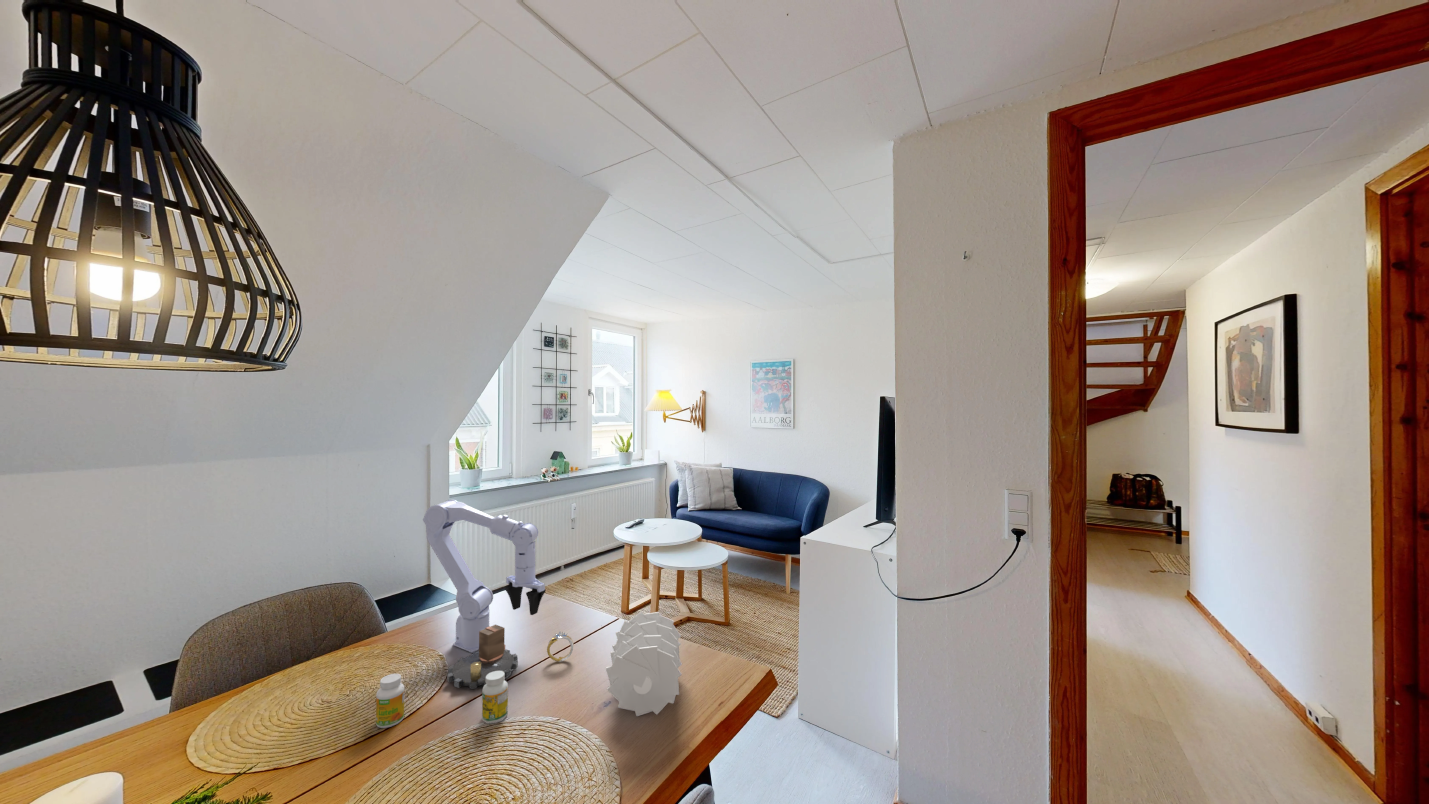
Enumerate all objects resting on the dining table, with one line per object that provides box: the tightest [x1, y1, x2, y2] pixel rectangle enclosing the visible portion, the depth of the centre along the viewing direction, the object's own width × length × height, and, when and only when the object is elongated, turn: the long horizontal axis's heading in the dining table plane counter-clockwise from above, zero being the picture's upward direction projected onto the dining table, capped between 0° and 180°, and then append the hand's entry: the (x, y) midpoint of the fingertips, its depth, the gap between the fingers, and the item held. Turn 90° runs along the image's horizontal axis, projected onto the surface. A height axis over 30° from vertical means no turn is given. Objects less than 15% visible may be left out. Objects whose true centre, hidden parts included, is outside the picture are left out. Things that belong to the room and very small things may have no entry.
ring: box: [546, 630, 575, 663], centre depth 138 cm, size 7×3×8 cm, turn 98°
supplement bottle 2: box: [481, 671, 509, 724], centre depth 114 cm, size 5×5×10 cm
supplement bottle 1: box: [375, 673, 406, 729], centre depth 112 cm, size 5×5×10 cm
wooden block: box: [478, 624, 506, 661], centre depth 136 cm, size 4×5×7 cm
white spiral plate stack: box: [605, 611, 683, 717], centre depth 123 cm, size 18×18×25 cm
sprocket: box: [446, 648, 519, 690], centre depth 132 cm, size 17×17×5 cm
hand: (525, 611), depth 148 cm, fingers open, 7 cm apart
